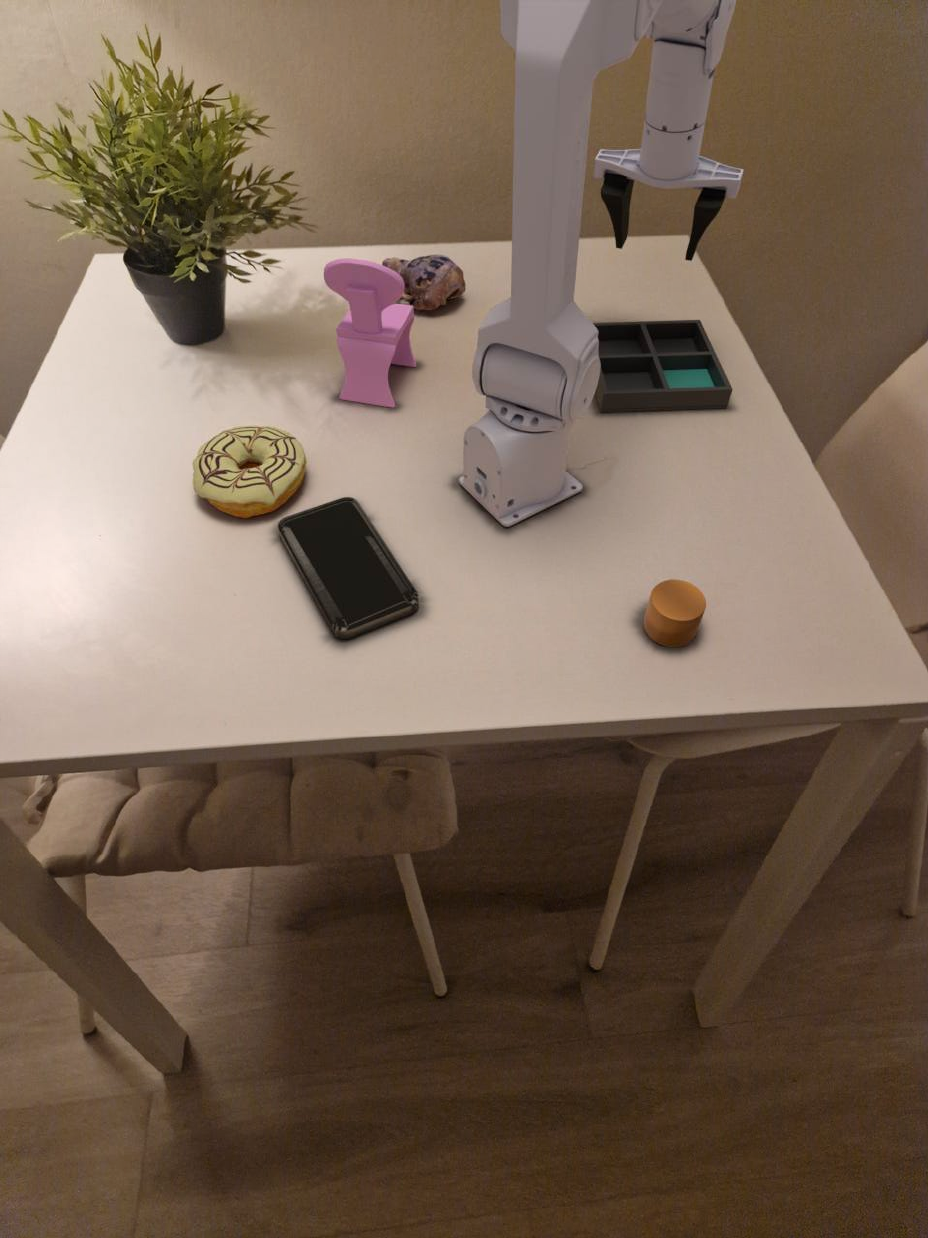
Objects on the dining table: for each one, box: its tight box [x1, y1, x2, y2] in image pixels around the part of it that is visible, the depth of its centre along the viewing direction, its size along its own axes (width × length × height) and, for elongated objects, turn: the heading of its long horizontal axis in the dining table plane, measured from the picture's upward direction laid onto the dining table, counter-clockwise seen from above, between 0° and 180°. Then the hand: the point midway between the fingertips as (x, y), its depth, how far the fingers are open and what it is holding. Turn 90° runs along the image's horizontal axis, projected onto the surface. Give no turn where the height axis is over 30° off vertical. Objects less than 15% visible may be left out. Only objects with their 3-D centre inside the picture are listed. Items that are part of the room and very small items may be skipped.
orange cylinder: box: [642, 579, 707, 648], centre depth 65 cm, size 4×4×4 cm
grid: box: [592, 319, 734, 414], centre depth 89 cm, size 14×14×2 cm
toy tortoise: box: [381, 254, 467, 311], centre depth 98 cm, size 12×8×6 cm, turn 40°
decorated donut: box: [192, 425, 307, 519], centre depth 76 cm, size 10×11×4 cm
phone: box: [277, 496, 420, 640], centre depth 70 cm, size 8×1×15 cm
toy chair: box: [323, 257, 417, 409], centre depth 83 cm, size 8×9×15 cm
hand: (655, 248), depth 87 cm, fingers open, 7 cm apart
